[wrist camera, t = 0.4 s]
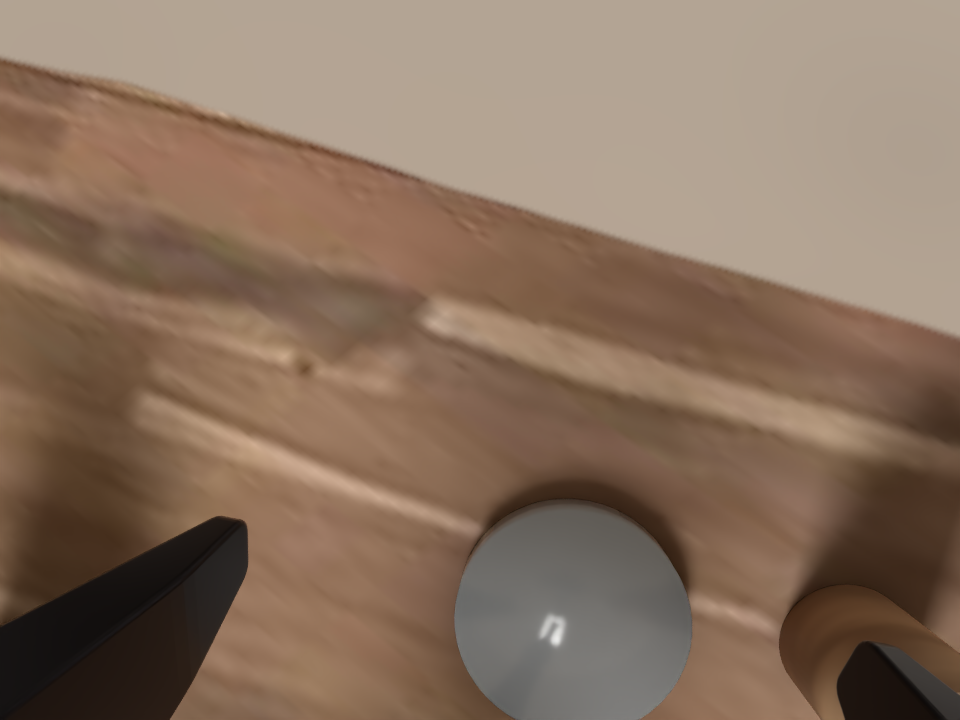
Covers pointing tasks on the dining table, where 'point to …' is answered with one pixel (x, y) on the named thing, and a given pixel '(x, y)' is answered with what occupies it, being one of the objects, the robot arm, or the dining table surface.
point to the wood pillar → (853, 641)
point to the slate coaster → (572, 614)
